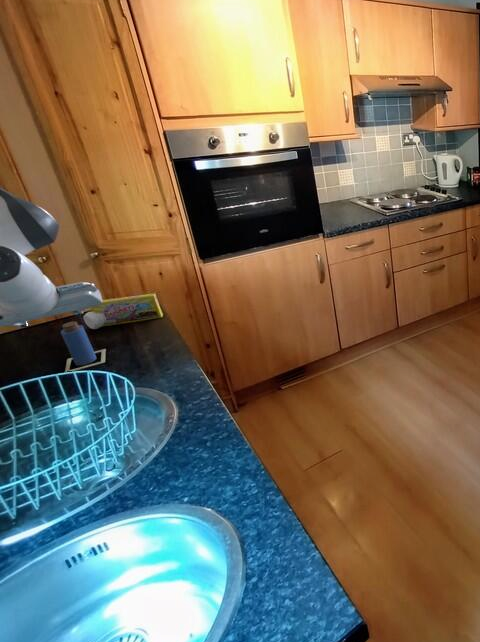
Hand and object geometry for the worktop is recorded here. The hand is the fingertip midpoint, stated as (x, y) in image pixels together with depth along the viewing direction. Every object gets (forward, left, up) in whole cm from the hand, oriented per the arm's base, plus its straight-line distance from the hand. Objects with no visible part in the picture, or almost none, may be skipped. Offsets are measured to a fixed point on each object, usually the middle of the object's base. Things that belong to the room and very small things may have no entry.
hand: (52, 317), depth 105 cm
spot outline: (0, +13, -19) cm, 23 cm away
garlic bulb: (+3, +34, -19) cm, 39 cm away
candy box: (+10, +32, -19) cm, 39 cm away
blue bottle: (0, +13, -19) cm, 23 cm away
